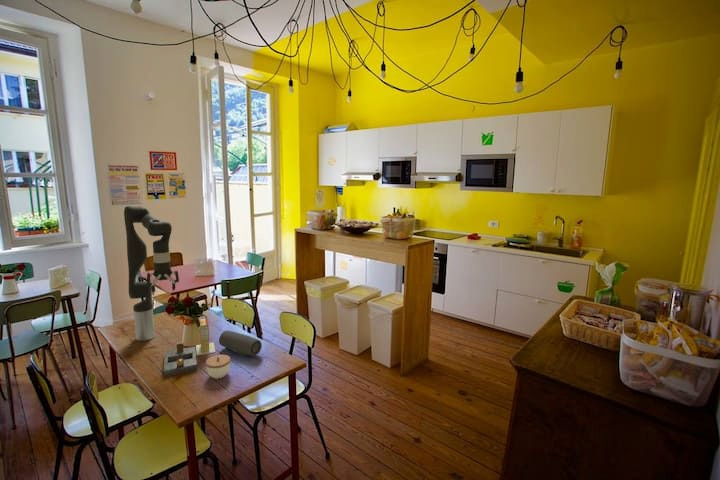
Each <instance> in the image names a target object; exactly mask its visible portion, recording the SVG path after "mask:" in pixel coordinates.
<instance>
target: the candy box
mask: <svg viewBox="0 0 720 480" xmlns="http://www.w3.org/2000/svg"><path fill="white" fill-rule="evenodd" d="M208 319H209V318H200V319H199V333H200V334H199V335H200V344H201V351H202V352H207V351H209V343H210V327H209V326H210V324H209V320H208Z"/></svg>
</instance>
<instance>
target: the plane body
mask: <svg viewBox="0 0 720 480" xmlns="http://www.w3.org/2000/svg"><path fill="white" fill-rule="evenodd" d="M197 370H198V363H197V351H196V346H190V347H184V341H179V342H177V343H176V349H171V350H167V351H165V352H164V361H163V377H169V376H173V375H174V376H175V375H179V374H184V373H185V374H186V373H190V372H195V371H197Z"/></svg>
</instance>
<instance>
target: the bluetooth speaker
mask: <svg viewBox="0 0 720 480" xmlns="http://www.w3.org/2000/svg"><path fill="white" fill-rule="evenodd" d="M218 344H219V345H220V346H221V347H224V348H226V349H228V350H231V351H232V352H233V353H236V354H239V355H242V356H250V357H255V356H257V355H259V354H260V352H261V350H262V346H263V345H262V341H261V340H260V339H258V338H255V337H252V336H250V335H247V334H243V333H241V332H240V333H239V332H238V331H237V332H236V331H233V330H223V331H222V332H221V334H220V336H219V338H218Z"/></svg>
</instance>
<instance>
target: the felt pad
mask: <svg viewBox="0 0 720 480" xmlns="http://www.w3.org/2000/svg"><path fill="white" fill-rule="evenodd" d="M195 350H196V357H198V356H202V355H204V356H205V355H210V354H215V353H216V348H215V343H214V342H209V351H207V352H202V351H201V343H200V344H196V345H195Z"/></svg>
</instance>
